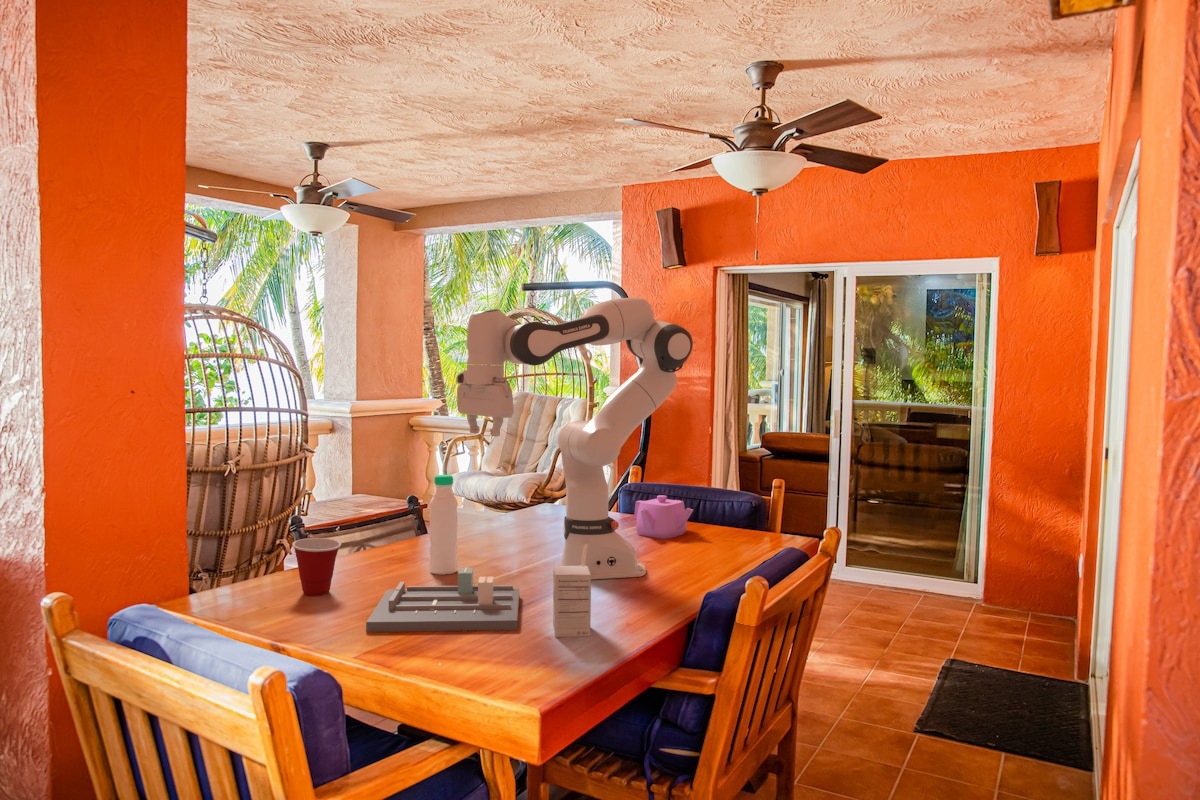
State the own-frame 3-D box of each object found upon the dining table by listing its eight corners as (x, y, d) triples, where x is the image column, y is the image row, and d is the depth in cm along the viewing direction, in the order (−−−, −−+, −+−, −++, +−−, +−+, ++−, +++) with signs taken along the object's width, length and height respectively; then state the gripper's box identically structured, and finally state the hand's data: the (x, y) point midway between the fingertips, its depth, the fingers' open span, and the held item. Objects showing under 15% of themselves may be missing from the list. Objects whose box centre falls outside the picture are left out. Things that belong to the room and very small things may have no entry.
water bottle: (451, 576, 212) (451, 477, 211) (425, 574, 213) (425, 476, 212) (461, 569, 219) (461, 474, 218) (435, 567, 220) (436, 473, 219)
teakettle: (679, 528, 278) (680, 491, 278) (694, 538, 261) (695, 499, 261) (629, 529, 275) (630, 492, 275) (641, 540, 258) (641, 500, 258)
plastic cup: (317, 602, 188) (317, 548, 187) (281, 595, 192) (281, 544, 192) (351, 590, 198) (351, 540, 197) (316, 584, 202) (316, 535, 202)
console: (519, 597, 194) (519, 580, 194) (516, 630, 170) (517, 610, 170) (387, 598, 191) (387, 581, 191) (366, 631, 167) (366, 612, 167)
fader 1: (473, 589, 191) (473, 567, 191) (471, 595, 186) (471, 572, 186) (459, 589, 191) (459, 567, 191) (457, 595, 186) (457, 572, 186)
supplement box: (552, 625, 173) (553, 565, 172) (588, 625, 174) (589, 564, 173) (553, 637, 166) (554, 574, 165) (590, 637, 166) (591, 573, 166)
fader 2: (493, 599, 184) (493, 575, 183) (492, 605, 179) (492, 581, 178) (479, 599, 183) (479, 575, 183) (477, 605, 178) (478, 581, 178)
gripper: (520, 378, 194) (519, 437, 195) (474, 376, 210) (474, 431, 211) (497, 378, 190) (496, 438, 191) (452, 376, 206) (452, 432, 207)
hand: (484, 434), depth 201 cm, fingers open, 8 cm apart
